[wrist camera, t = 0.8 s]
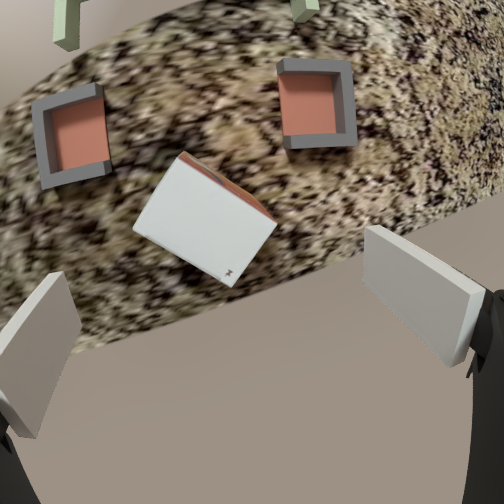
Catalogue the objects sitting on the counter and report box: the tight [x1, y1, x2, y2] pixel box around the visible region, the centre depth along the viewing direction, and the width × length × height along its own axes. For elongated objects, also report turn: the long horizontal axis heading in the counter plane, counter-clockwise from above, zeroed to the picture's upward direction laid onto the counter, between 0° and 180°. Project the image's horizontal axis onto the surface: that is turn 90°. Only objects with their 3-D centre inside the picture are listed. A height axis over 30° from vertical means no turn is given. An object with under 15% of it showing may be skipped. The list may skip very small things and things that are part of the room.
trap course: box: [31, 0, 358, 190], centre depth 23 cm, size 30×20×4 cm
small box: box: [133, 151, 277, 288], centre depth 25 cm, size 8×6×10 cm
